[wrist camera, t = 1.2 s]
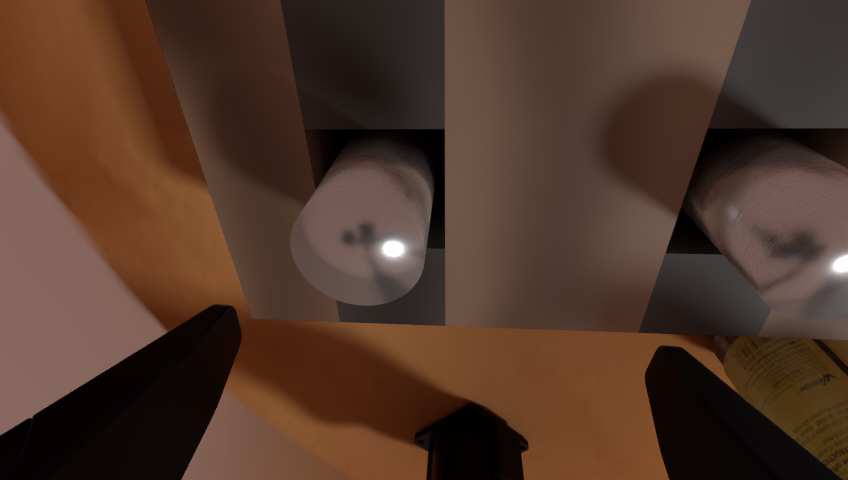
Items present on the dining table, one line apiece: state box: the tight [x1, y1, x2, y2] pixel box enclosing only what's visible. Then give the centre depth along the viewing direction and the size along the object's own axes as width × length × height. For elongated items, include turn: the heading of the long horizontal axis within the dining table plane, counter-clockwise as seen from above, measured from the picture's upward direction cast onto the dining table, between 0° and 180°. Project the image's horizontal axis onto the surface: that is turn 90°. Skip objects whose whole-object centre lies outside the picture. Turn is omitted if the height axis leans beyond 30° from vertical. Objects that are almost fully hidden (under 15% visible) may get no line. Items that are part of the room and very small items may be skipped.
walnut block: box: [145, 0, 848, 340], centre depth 17 cm, size 24×12×7 cm, turn 92°
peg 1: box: [290, 129, 438, 306], centre depth 14 cm, size 4×4×7 cm
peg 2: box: [681, 128, 848, 320], centre depth 13 cm, size 4×4×7 cm
